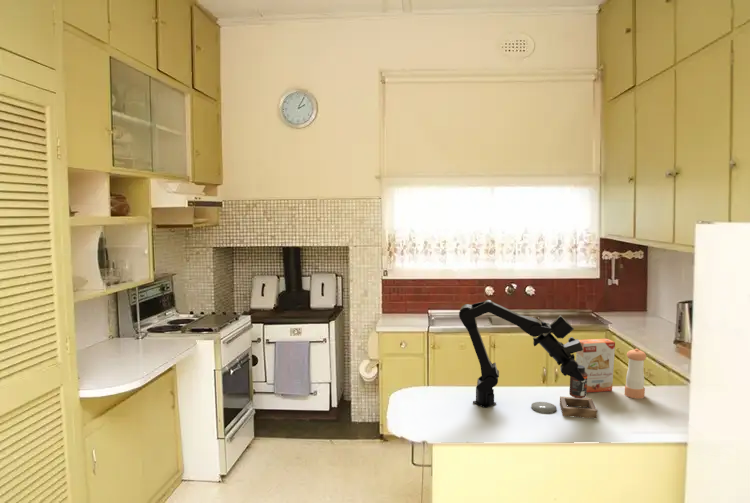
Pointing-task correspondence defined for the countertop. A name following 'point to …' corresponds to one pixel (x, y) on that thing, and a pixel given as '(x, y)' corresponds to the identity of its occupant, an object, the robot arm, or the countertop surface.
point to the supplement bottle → (579, 384)
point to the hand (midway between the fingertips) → (582, 377)
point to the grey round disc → (543, 407)
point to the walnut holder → (578, 412)
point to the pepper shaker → (635, 374)
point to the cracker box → (597, 363)
